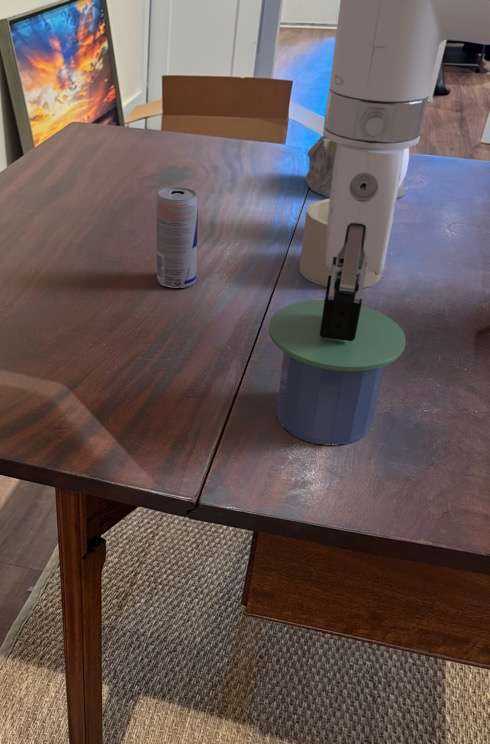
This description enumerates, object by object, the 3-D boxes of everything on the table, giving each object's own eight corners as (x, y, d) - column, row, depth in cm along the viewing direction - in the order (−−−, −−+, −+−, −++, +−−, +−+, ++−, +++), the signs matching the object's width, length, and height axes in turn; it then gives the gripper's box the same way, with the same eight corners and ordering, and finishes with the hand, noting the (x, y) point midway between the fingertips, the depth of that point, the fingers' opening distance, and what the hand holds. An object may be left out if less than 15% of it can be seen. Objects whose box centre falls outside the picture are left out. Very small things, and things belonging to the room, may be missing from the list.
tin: (342, 249, 108) (351, 193, 103) (398, 278, 100) (411, 218, 95) (283, 265, 103) (289, 206, 97) (337, 296, 95) (347, 235, 90)
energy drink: (196, 273, 100) (199, 187, 92) (195, 290, 95) (197, 201, 88) (158, 272, 100) (157, 185, 92) (155, 289, 96) (154, 199, 88)
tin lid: (340, 299, 75) (350, 243, 71) (432, 354, 66) (448, 294, 63) (241, 328, 69) (246, 269, 65) (328, 392, 61) (339, 328, 57)
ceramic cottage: (415, 197, 126) (429, 105, 118) (332, 209, 123) (339, 114, 114) (372, 176, 139) (381, 91, 130) (295, 186, 135) (299, 98, 126)
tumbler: (327, 382, 79) (339, 308, 73) (390, 426, 72) (408, 349, 67) (258, 408, 74) (265, 332, 69) (318, 457, 68) (332, 378, 62)
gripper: (428, 151, 48) (377, 378, 60) (418, 98, 61) (378, 294, 73) (318, 141, 50) (289, 367, 61) (331, 91, 62) (305, 285, 74)
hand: (338, 325), depth 67 cm, fingers open, 3 cm apart
